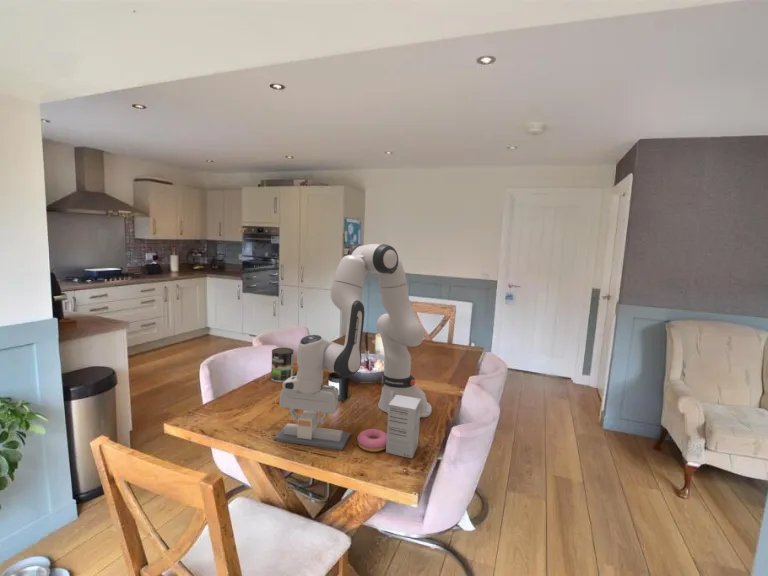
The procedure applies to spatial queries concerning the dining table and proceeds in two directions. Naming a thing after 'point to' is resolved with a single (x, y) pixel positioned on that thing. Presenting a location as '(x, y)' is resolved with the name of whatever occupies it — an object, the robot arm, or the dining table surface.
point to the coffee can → (282, 364)
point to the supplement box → (403, 426)
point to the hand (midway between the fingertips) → (308, 421)
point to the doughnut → (372, 440)
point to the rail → (312, 442)
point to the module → (307, 424)
